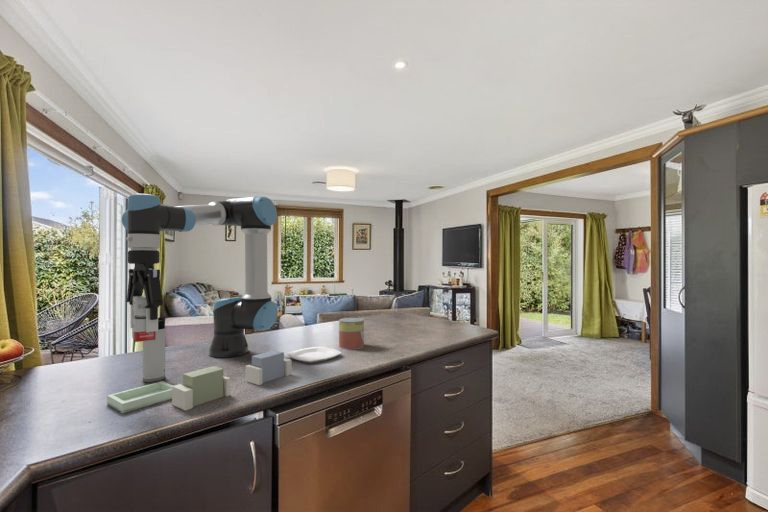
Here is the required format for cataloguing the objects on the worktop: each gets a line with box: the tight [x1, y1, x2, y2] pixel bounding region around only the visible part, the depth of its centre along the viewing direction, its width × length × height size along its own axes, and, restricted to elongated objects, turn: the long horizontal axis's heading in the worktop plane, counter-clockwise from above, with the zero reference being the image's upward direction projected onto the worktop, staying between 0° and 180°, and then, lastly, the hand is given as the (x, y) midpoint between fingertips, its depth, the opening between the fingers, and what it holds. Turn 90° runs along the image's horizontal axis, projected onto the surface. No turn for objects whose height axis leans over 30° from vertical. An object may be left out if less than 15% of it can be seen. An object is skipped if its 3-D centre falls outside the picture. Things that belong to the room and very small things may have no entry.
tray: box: [107, 380, 174, 414], centre depth 103 cm, size 10×14×2 cm
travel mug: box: [142, 316, 166, 383], centre depth 121 cm, size 6×7×20 cm
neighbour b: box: [251, 349, 285, 384], centre depth 122 cm, size 5×9×8 cm, turn 145°
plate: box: [286, 345, 343, 364], centre depth 147 cm, size 19×19×2 cm
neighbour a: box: [182, 365, 224, 407], centre depth 104 cm, size 5×9×8 cm, turn 145°
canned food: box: [338, 317, 365, 350], centre depth 165 cm, size 11×11×12 cm
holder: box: [171, 357, 292, 412], centre depth 113 cm, size 7×36×5 cm, turn 145°
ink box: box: [131, 295, 156, 343], centre depth 103 cm, size 8×5×12 cm, turn 39°
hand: (144, 329), depth 103 cm, fingers closed on ink box, 9 cm apart
